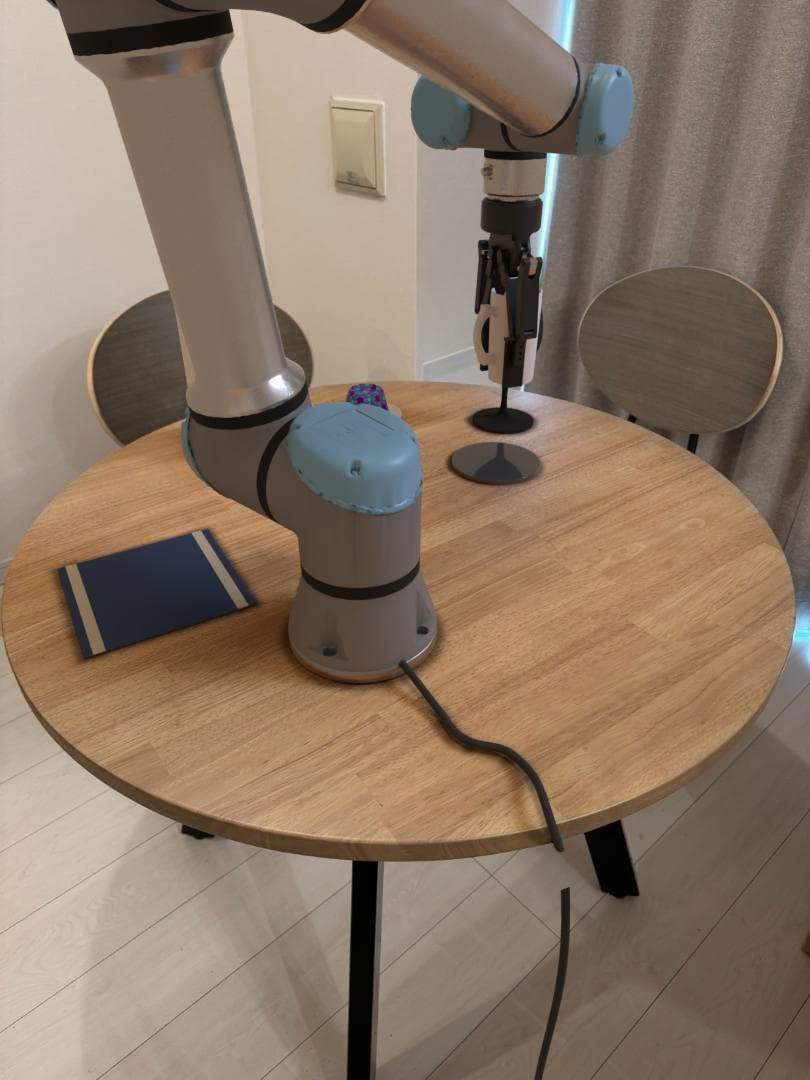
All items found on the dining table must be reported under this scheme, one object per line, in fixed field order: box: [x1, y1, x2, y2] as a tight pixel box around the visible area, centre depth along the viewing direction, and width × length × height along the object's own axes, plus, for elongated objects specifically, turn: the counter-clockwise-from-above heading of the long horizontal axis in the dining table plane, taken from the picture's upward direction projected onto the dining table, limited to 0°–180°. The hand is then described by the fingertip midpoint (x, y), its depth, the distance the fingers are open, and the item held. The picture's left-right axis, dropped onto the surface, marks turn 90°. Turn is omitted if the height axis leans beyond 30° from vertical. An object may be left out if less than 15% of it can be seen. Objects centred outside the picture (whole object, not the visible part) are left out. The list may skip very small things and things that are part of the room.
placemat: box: [56, 528, 258, 660], centre depth 84 cm, size 18×18×1 cm
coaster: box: [451, 441, 541, 485], centre depth 110 cm, size 13×13×1 cm
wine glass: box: [471, 306, 544, 435], centre depth 118 cm, size 10×10×20 cm
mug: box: [472, 287, 544, 386], centre depth 99 cm, size 10×7×12 cm, turn 121°
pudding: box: [345, 383, 403, 419], centre depth 123 cm, size 12×12×5 cm
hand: (500, 377), depth 102 cm, fingers closed on mug, 6 cm apart
